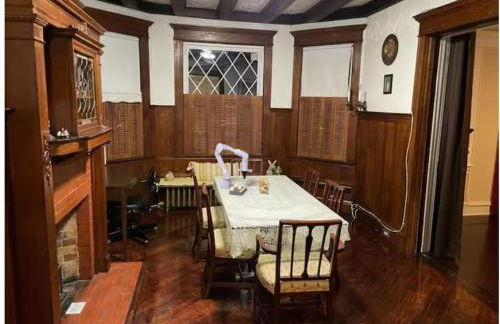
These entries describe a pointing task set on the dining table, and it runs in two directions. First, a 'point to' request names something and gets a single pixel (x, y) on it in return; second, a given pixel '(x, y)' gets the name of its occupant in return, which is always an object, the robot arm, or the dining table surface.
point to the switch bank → (238, 191)
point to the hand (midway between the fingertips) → (244, 178)
